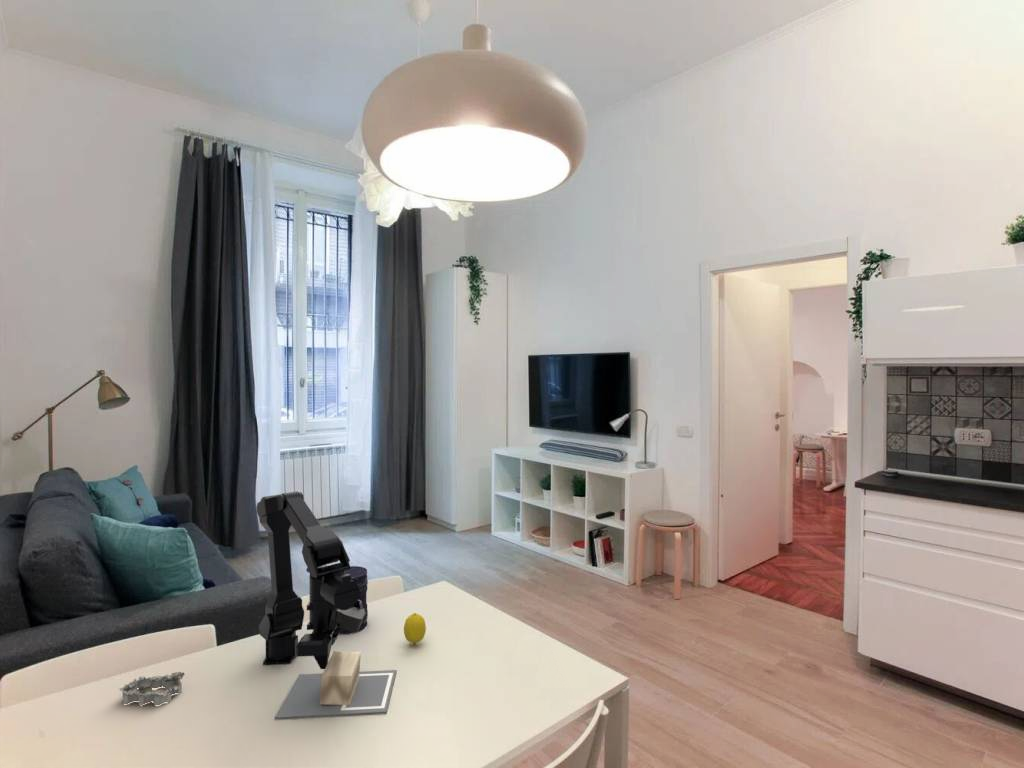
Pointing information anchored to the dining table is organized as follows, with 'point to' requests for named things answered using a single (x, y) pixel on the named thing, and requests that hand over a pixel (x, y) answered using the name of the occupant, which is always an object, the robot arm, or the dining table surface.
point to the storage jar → (361, 580)
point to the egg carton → (146, 687)
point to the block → (340, 678)
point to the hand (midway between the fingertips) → (323, 668)
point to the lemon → (414, 628)
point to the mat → (365, 700)
